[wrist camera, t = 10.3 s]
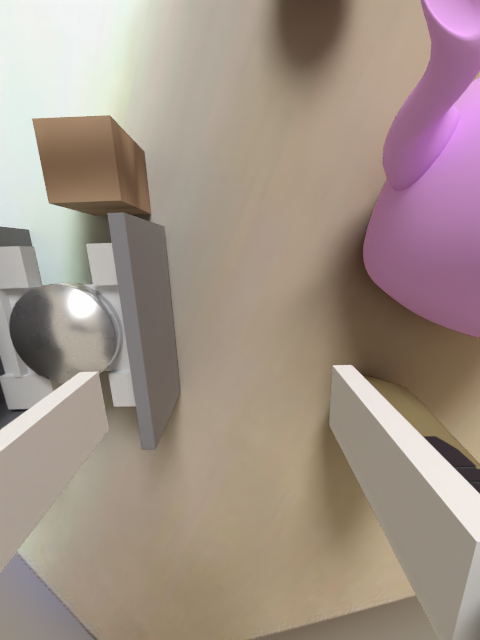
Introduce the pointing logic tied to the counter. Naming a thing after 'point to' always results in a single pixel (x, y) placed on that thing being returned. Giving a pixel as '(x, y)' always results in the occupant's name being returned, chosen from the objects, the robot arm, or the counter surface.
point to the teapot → (434, 181)
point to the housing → (3, 415)
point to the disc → (65, 331)
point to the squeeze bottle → (416, 413)
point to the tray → (135, 315)
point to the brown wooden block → (92, 165)
